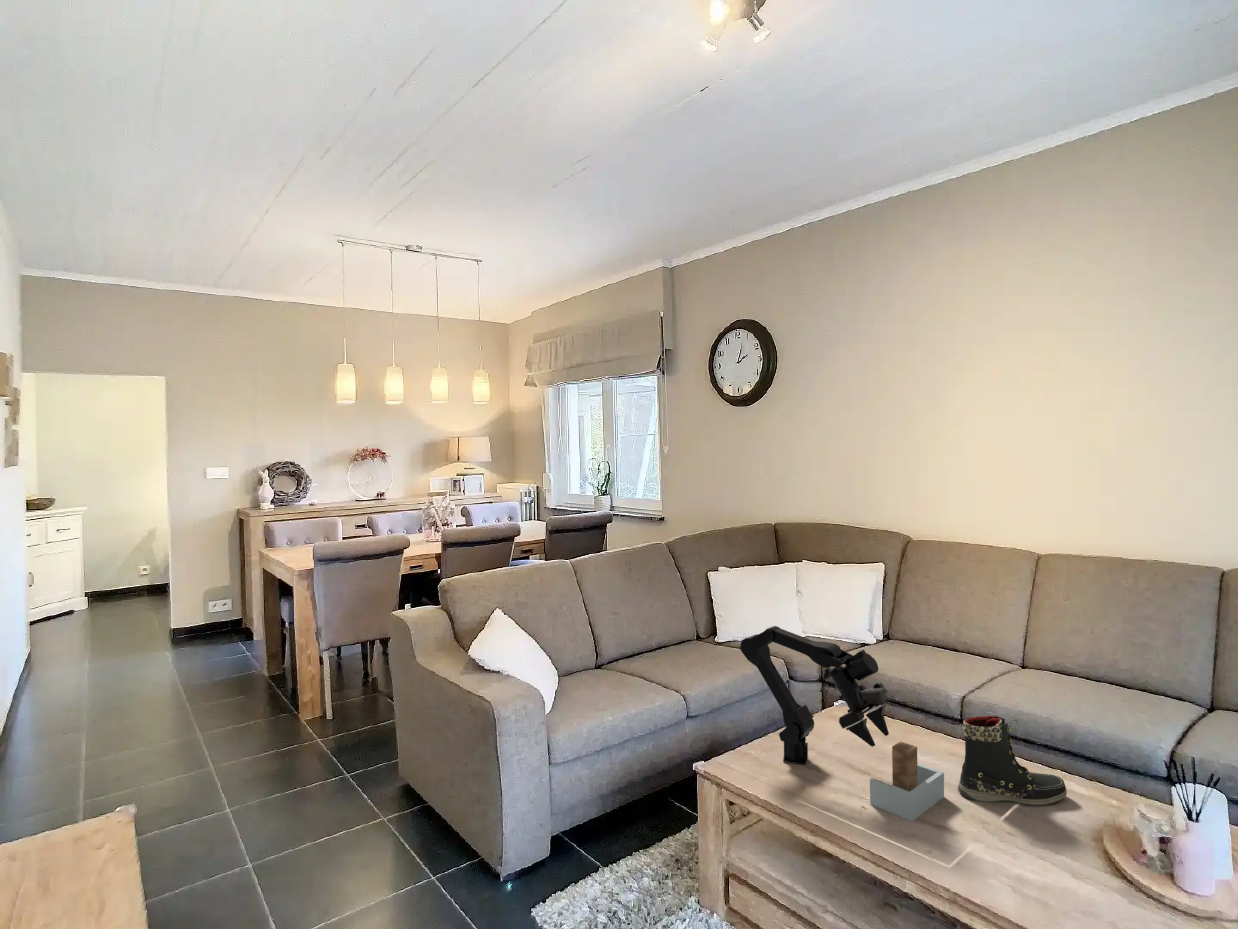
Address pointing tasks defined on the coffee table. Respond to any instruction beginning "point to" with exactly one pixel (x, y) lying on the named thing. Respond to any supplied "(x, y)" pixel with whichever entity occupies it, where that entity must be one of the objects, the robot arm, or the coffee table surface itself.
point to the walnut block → (904, 766)
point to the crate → (909, 794)
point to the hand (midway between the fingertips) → (880, 740)
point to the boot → (1001, 768)
